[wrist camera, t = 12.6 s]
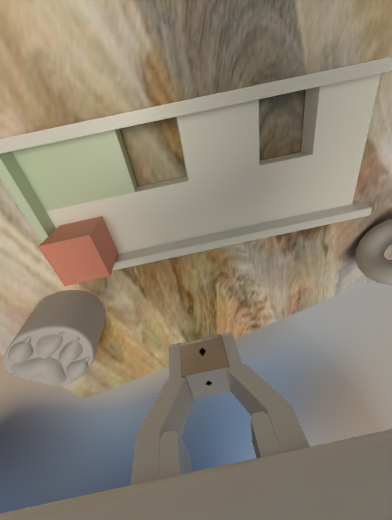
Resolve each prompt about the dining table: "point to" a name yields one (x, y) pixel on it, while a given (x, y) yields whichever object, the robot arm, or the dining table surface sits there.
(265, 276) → the dining table surface
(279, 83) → the tray
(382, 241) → the donut
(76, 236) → the block
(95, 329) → the lumpy-topped squat cylinder
